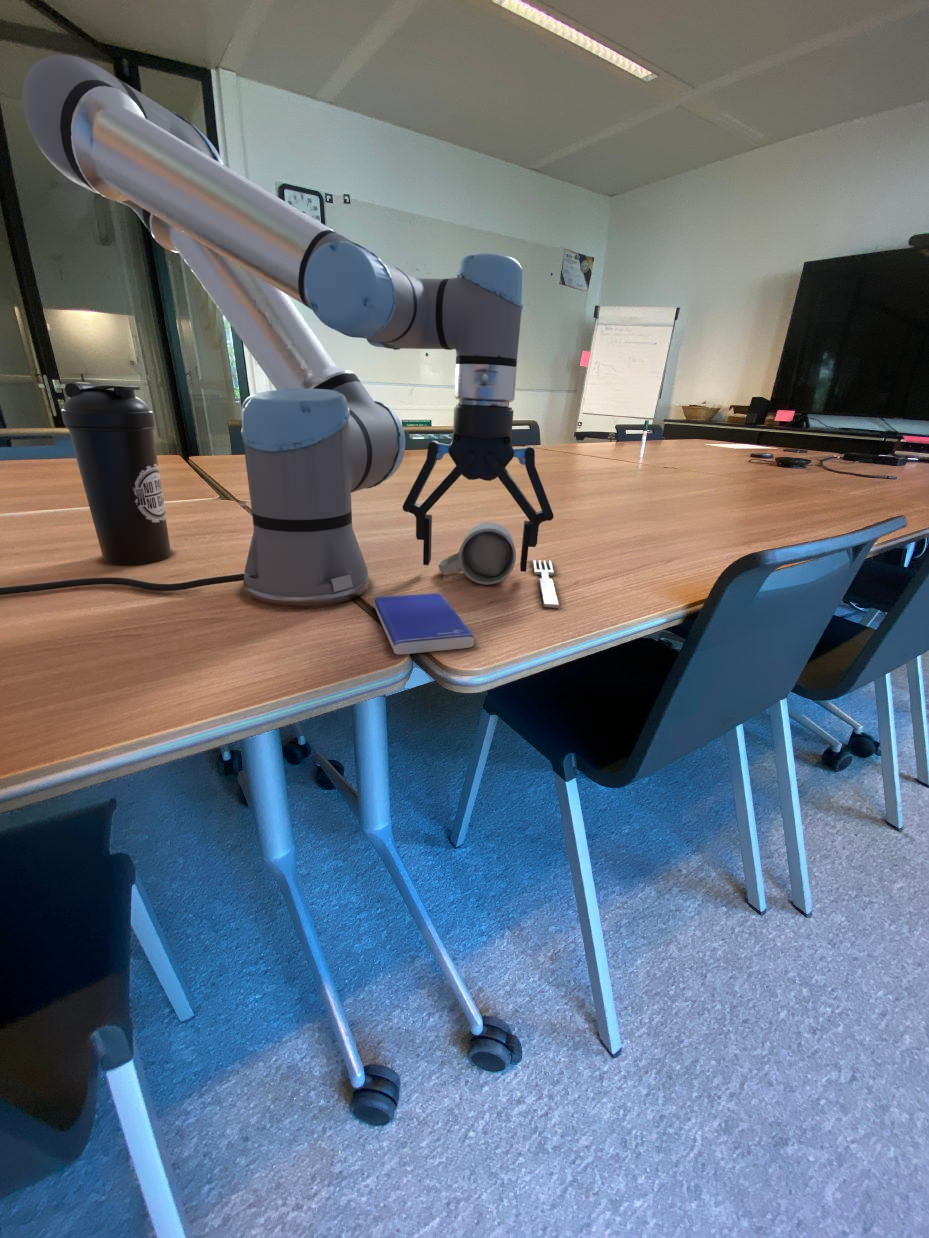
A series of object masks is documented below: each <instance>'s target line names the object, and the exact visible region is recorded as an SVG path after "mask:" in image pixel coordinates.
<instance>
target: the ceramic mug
mask: <svg viewBox="0 0 929 1238" xmlns="http://www.w3.org/2000/svg"><path fill="white" fill-rule="evenodd" d="M515 547H516V546H515V543H514V540H513V537H512V535H511V533H510V532H509V530H508V529H506V528H505V527H504V526H503V525H501V524H499V523H496V522H492V521H487V522H481V523H478V524H476V525H474V526H473V527H472V528H471V529H470V530H469V531H468V532H467V534H466V535H465V537H464V539H463V541H462V543H461V545H460V548H459V551H458V552H457V553H454V554H452V555H450V556H448V557H446V558H444V559H443V560H441V561H440V562H439V563H438V569H439V571H440V573H441V575H442V576H451V575H454V574H457V573H461V572H462V573H463V574H464V575H465V576H466V577H467V578H468V579H469V580H470V581H472V582H474V583H476V584H479V585H484V586H490V585H495V584H498V583H500V582H503V581H504V580H506V579H507V578H508V577H509V575H510V574H511V573H512V572H513V570H514V567H515V565H516V561H517V560H516V559H517V551H516V548H515Z"/></svg>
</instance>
